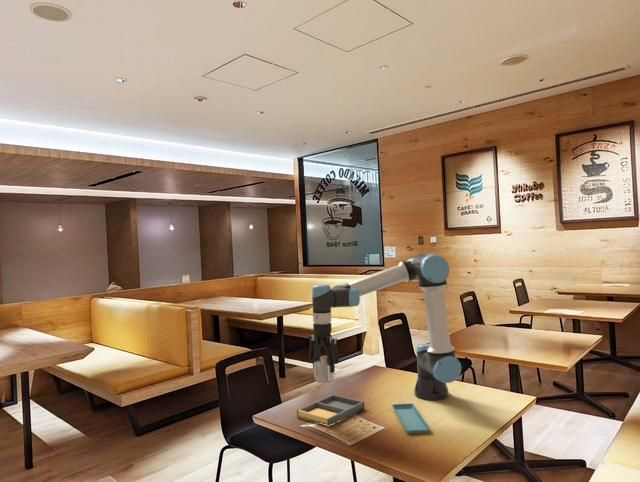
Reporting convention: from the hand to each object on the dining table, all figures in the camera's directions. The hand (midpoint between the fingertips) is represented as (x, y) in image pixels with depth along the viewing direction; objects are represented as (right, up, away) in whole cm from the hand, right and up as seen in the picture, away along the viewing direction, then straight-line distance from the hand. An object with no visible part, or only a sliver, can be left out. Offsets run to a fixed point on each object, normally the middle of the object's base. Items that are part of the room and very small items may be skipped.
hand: (323, 378), depth 186 cm
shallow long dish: (+34, -15, -8) cm, 38 cm away
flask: (0, -1, 0) cm, 1 cm away
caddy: (+3, -15, +4) cm, 16 cm away
